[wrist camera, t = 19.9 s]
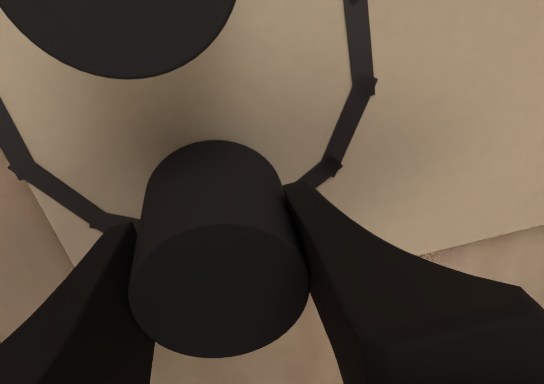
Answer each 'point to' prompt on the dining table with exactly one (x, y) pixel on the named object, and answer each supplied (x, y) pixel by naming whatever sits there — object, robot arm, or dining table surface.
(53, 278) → the dining table surface
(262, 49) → the face board
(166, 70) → the dot
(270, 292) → the dot
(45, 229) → the dining table surface
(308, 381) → the dining table surface
